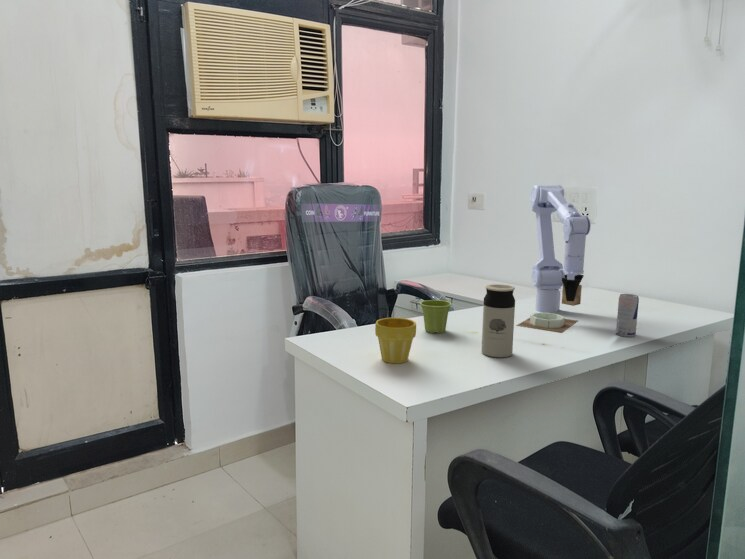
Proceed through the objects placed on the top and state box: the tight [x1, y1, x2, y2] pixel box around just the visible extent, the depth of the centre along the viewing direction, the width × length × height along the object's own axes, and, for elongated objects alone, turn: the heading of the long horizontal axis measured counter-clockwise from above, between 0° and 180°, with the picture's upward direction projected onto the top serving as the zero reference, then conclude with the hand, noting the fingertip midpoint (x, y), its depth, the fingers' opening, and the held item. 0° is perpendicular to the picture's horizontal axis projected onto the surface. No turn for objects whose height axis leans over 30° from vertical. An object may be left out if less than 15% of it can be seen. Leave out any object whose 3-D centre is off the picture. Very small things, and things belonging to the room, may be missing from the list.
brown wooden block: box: [561, 284, 583, 307], centre depth 171 cm, size 4×4×6 cm
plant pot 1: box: [374, 317, 417, 364], centre depth 139 cm, size 10×10×10 cm
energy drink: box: [615, 293, 640, 338], centre depth 163 cm, size 5×5×12 cm
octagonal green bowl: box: [529, 312, 566, 328], centre depth 172 cm, size 10×10×2 cm
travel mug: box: [481, 283, 516, 359], centre depth 144 cm, size 8×8×18 cm
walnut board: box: [515, 317, 579, 334], centre depth 173 cm, size 18×14×1 cm
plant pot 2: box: [419, 299, 452, 334], centre depth 166 cm, size 9×9×9 cm
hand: (571, 299), depth 171 cm, fingers closed on brown wooden block, 5 cm apart
